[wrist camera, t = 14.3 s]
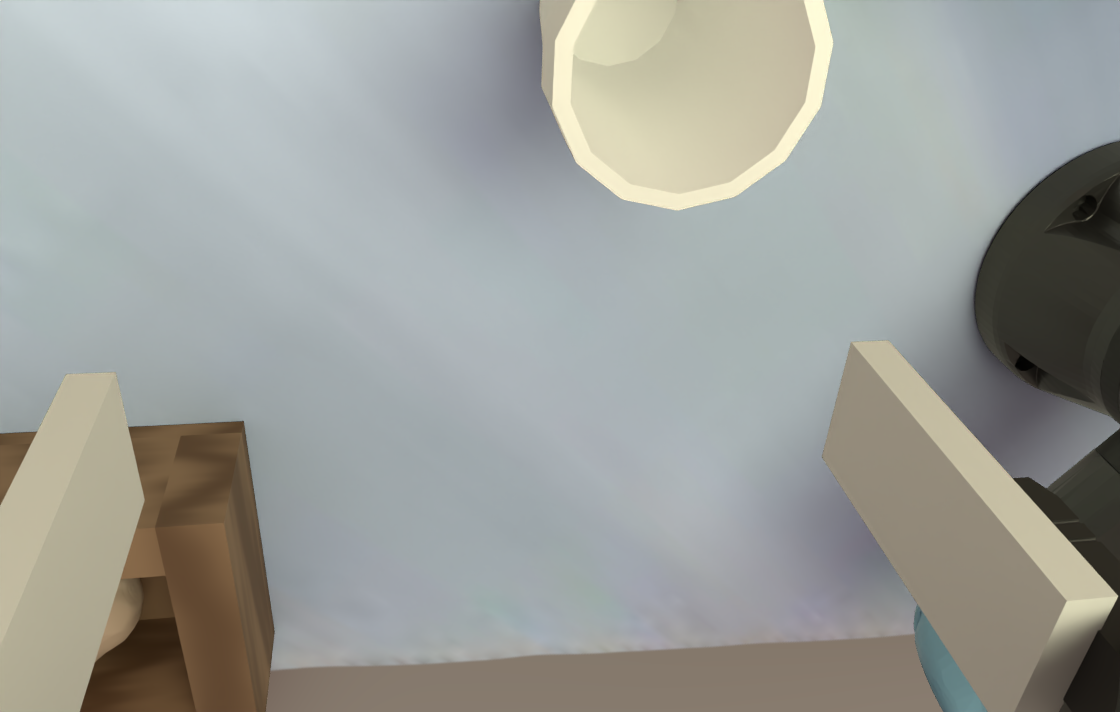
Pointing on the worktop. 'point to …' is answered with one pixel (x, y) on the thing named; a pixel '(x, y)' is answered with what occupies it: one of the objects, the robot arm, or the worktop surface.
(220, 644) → the walnut well
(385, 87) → the worktop surface
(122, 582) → the garlic bulb
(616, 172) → the foam cup
